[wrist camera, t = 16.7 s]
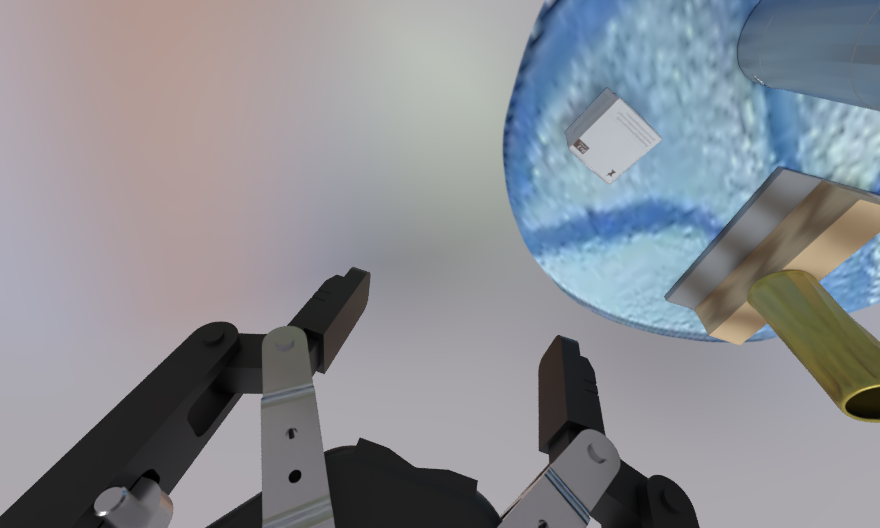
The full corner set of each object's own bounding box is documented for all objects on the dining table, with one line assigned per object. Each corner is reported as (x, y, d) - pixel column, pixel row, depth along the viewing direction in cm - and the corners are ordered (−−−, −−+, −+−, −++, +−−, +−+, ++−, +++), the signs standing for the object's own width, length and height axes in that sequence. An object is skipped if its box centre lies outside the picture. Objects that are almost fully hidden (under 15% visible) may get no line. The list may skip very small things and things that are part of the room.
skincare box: (644, 122, 36) (665, 139, 30) (598, 164, 40) (609, 187, 34) (606, 85, 35) (620, 95, 29) (562, 132, 39) (567, 149, 33)
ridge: (778, 166, 35) (815, 187, 31) (893, 198, 35) (950, 224, 30) (664, 296, 48) (678, 325, 43) (747, 322, 47) (771, 355, 42)
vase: (823, 299, 36) (952, 419, 25) (755, 317, 40) (842, 431, 28) (808, 260, 34) (942, 371, 23) (738, 282, 38) (824, 390, 26)
